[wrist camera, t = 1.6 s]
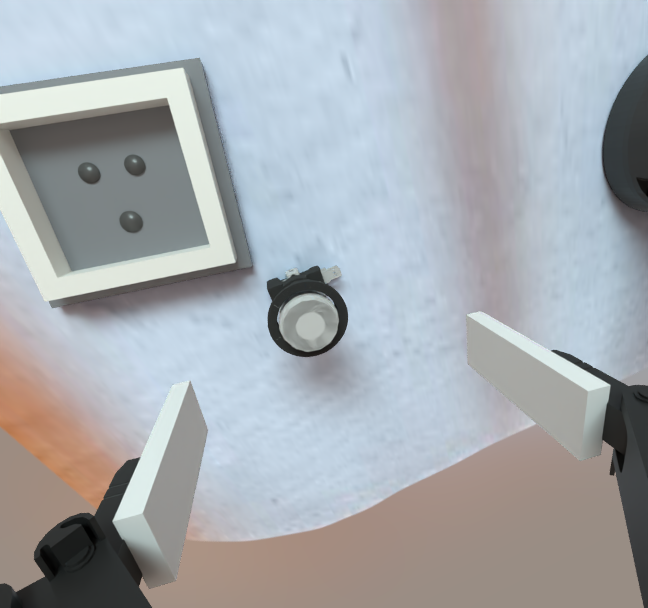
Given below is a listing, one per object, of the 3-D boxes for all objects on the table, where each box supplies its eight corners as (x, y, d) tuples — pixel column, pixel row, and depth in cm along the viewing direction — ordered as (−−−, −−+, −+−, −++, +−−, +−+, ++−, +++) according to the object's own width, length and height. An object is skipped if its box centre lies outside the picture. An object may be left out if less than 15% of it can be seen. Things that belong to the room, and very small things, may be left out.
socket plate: (201, 62, 25) (194, 47, 22) (252, 264, 30) (251, 272, 27) (-39, 97, 23) (-80, 85, 20) (59, 304, 28) (36, 317, 26)
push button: (328, 241, 30) (357, 265, 21) (346, 294, 32) (379, 338, 23) (256, 267, 30) (254, 304, 21) (279, 320, 32) (286, 375, 23)
